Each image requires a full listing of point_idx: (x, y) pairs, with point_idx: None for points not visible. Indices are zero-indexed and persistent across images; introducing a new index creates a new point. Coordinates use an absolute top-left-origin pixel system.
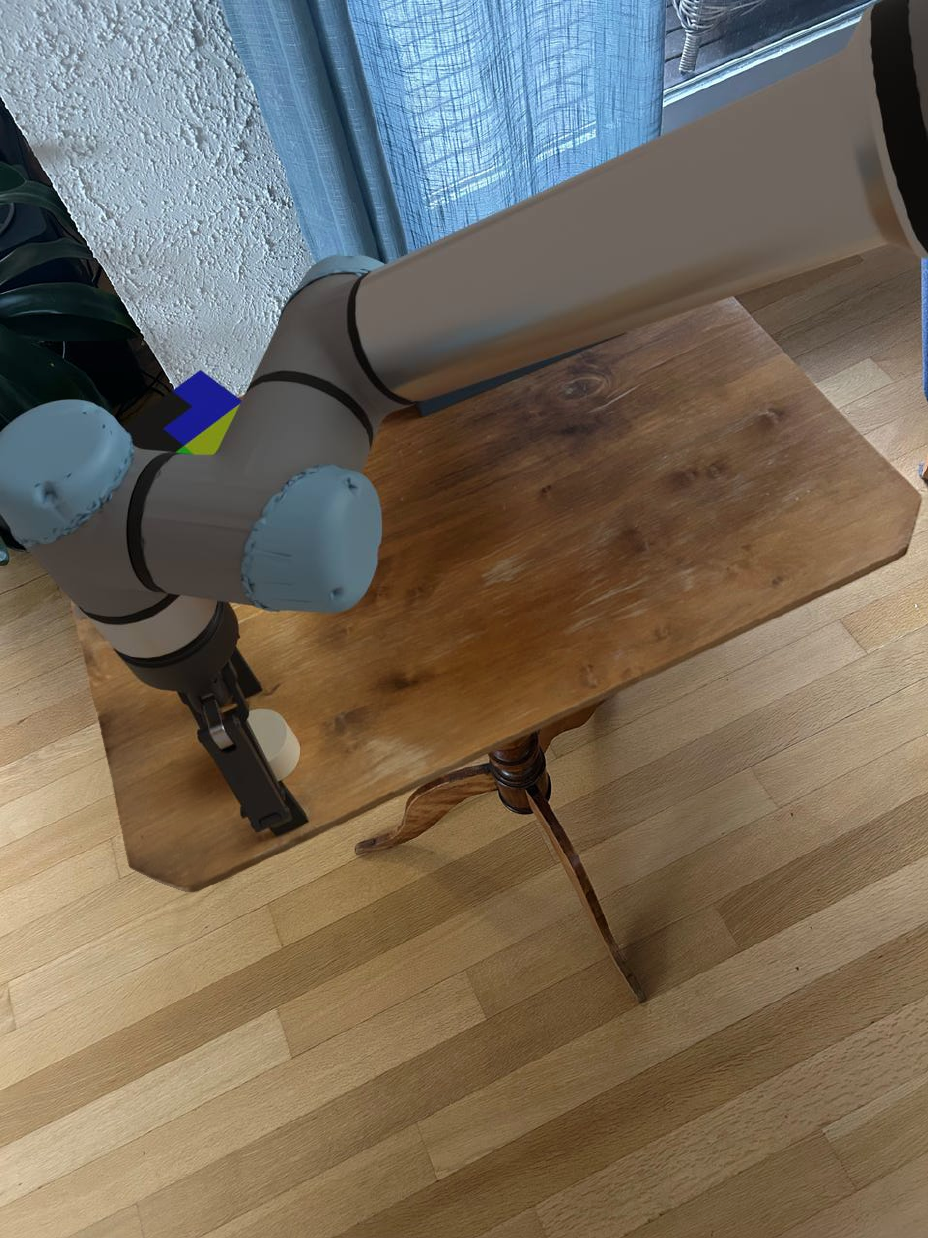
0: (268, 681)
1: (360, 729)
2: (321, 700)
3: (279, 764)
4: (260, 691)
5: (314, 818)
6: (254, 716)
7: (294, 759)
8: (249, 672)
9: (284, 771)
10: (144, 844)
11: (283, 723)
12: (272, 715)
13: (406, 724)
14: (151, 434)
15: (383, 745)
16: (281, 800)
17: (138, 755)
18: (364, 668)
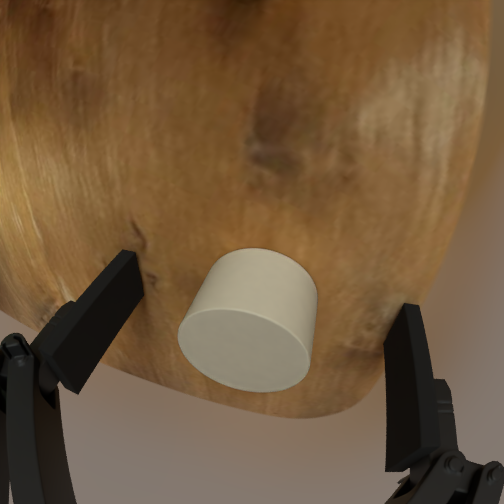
0: (122, 234)
1: (313, 126)
2: (194, 169)
3: (312, 330)
4: (135, 255)
5: (417, 292)
6: (193, 339)
7: (303, 283)
8: (98, 297)
9: (315, 306)
10: (284, 415)
11: (239, 314)
12: (206, 318)
13: (366, 29)
14: None
15: (386, 103)
16: (485, 498)
17: (178, 381)
18: (164, 55)
